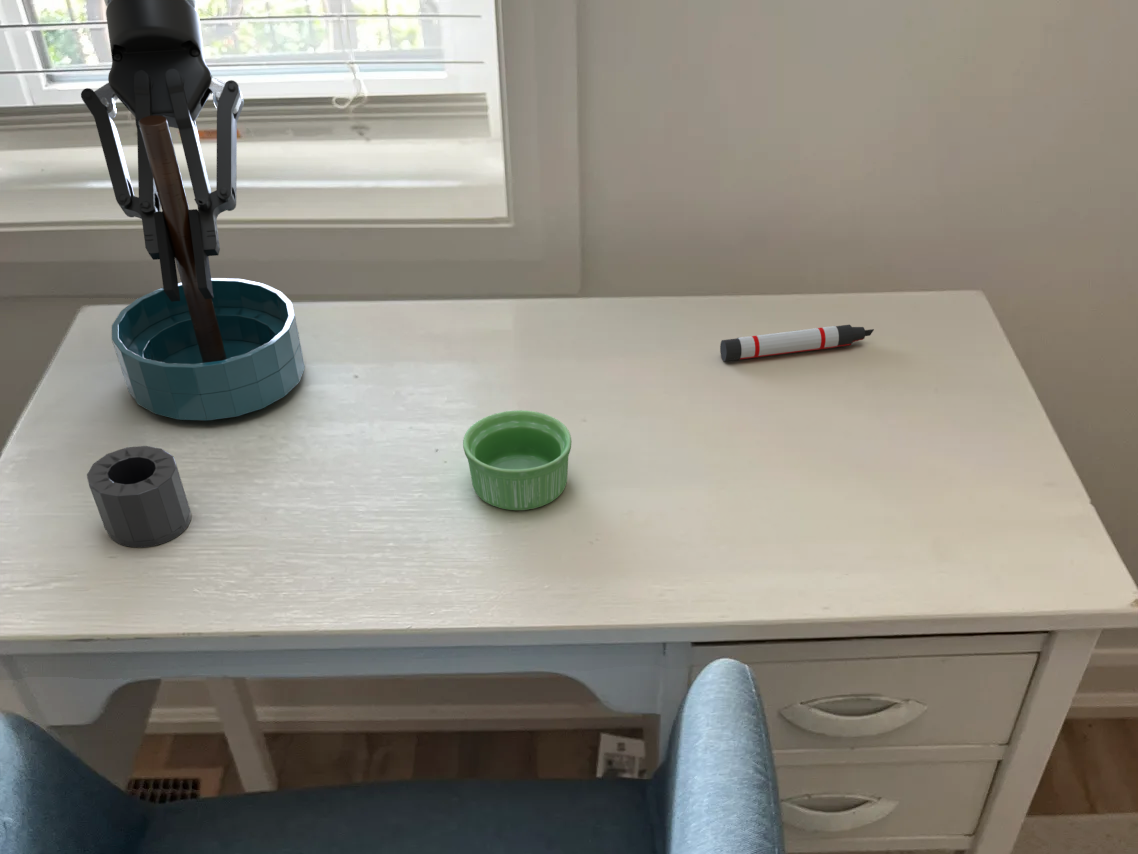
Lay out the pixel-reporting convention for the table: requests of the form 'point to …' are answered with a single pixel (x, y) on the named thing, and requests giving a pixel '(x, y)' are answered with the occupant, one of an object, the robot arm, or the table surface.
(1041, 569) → the table surface
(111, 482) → the crock
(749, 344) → the marker
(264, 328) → the bowl
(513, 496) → the ramekin
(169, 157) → the stick
